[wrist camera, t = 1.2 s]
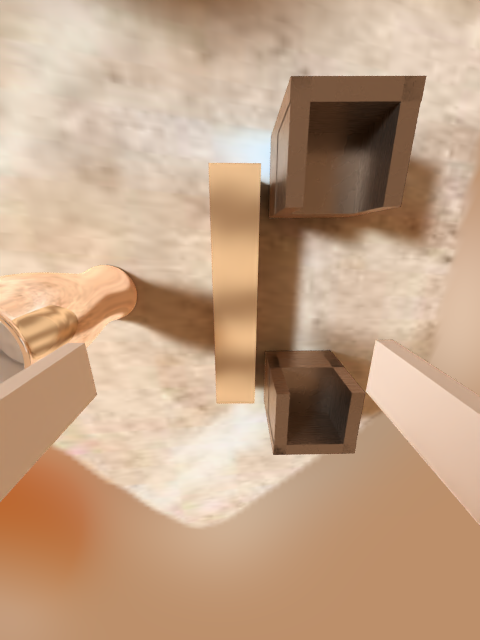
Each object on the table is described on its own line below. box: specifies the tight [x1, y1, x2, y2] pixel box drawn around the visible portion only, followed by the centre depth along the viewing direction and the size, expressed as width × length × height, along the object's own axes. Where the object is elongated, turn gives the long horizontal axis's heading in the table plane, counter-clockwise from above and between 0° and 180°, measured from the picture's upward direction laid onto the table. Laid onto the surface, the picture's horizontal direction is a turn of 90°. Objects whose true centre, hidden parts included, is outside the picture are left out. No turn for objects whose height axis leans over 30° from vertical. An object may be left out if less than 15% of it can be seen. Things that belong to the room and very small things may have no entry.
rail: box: [209, 163, 261, 403], centre depth 24 cm, size 22×4×6 cm, turn 0°
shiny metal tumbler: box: [0, 265, 137, 384], centre depth 19 cm, size 7×7×15 cm
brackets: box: [264, 76, 426, 455], centre depth 23 cm, size 29×8×8 cm, turn 1°
